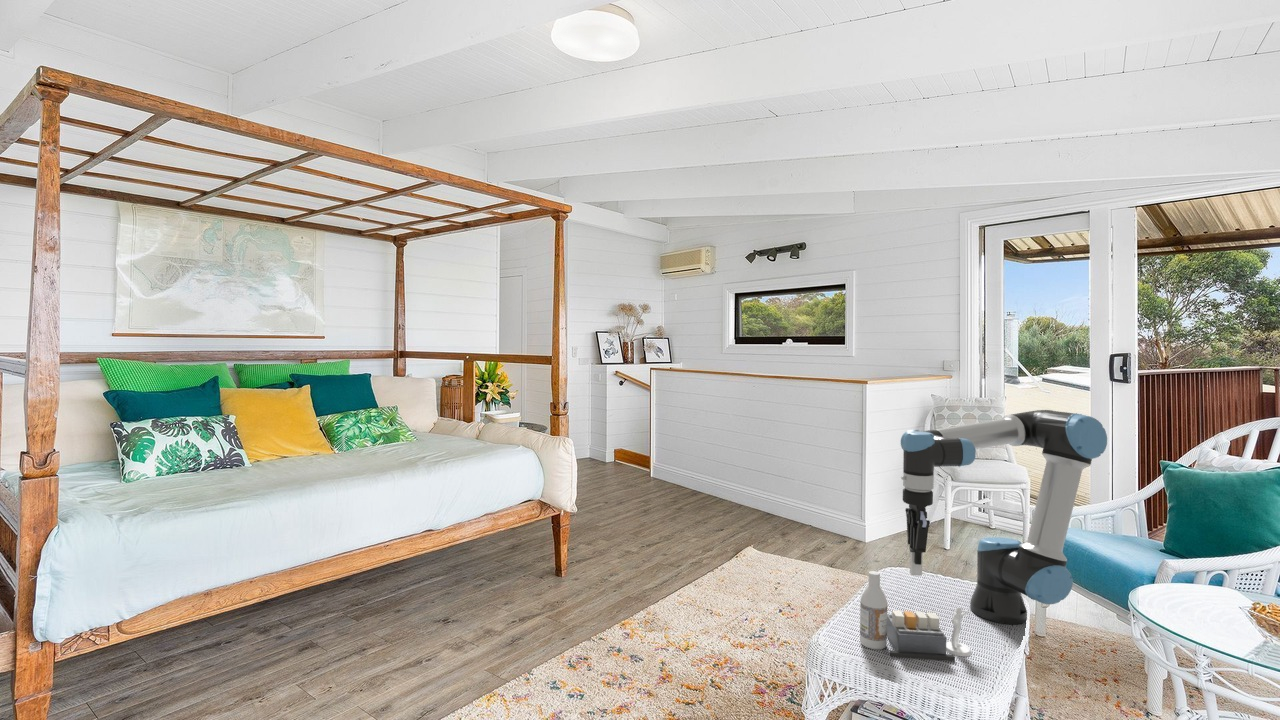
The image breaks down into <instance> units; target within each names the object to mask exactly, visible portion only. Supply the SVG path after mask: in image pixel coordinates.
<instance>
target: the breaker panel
mask: <svg viewBox="0 0 1280 720" xmlns="http://www.w3.org/2000/svg"><path fill="white" fill-rule="evenodd" d="M887 640H888V641H889V643H890V644H891V646H892V647H893V651H898V652H906V653H920V654H935V655H946V654H947V651H946V642H947V636H946V634H945V633H944V631H942V629H941V628H940V627H939V630H938V629H930V628H929V626H928V625H927V629H922V628H918V626H917V625H916V628H907V626H906V625H905V623H904V627H895V625H894V623H893V622H892V613H887Z"/></svg>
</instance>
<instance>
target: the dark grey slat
mask: <svg viewBox="0 0 1280 720" xmlns="http://www.w3.org/2000/svg"><path fill="white" fill-rule="evenodd" d="M889 656H890V657H891V658H900V659H913V660H914V659H915V660H928V661H941V662H942V661H944V662H955V661H956V657H955V656H956V655H953V654H950V653H946V655H935V654H920V653H906V652H898V651H895V650H892V649H890V650H889Z"/></svg>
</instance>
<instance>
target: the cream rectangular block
mask: <svg viewBox="0 0 1280 720" xmlns="http://www.w3.org/2000/svg"><path fill="white" fill-rule="evenodd" d="M925 615H926V617H927V618H928V622H927V625H928V626H929V628H930V629H938V630H939V628H940V618H939V616H938V615H937V614H936V612H926V614H925Z"/></svg>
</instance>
